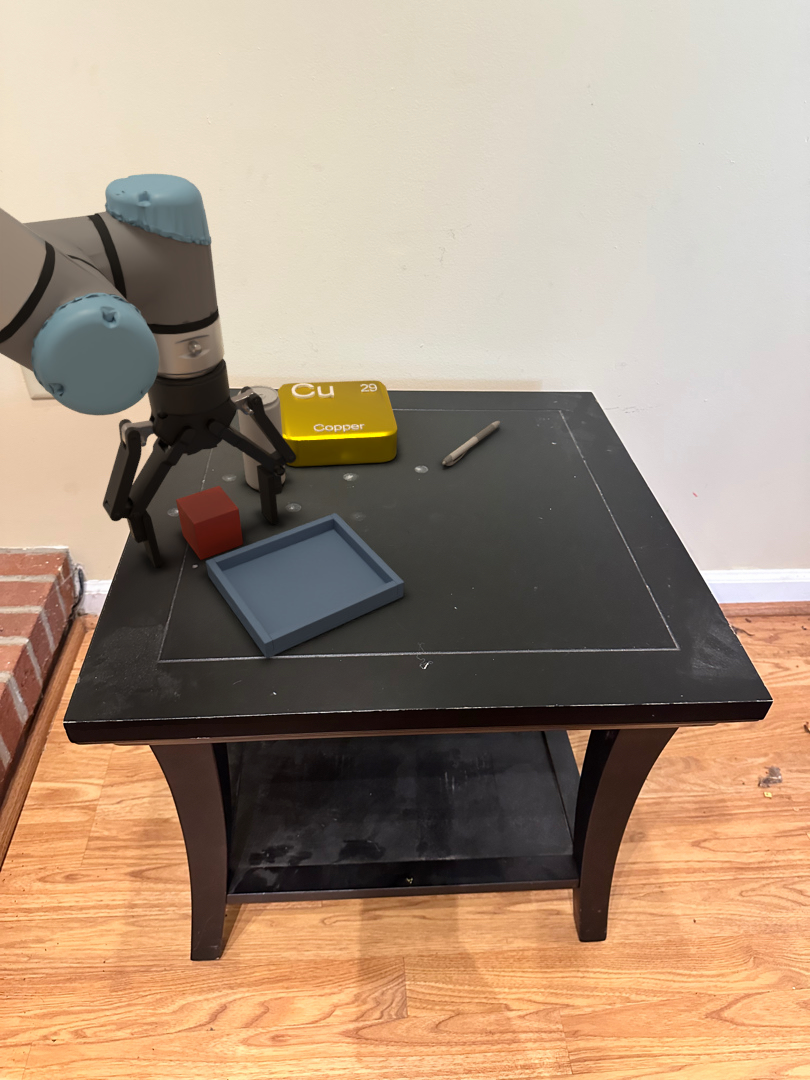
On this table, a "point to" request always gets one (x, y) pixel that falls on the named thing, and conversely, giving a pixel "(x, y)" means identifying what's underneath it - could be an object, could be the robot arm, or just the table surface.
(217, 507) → the red block
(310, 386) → the element tile
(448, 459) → the pen
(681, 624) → the table surface
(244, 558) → the slate tray
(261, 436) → the beverage can
